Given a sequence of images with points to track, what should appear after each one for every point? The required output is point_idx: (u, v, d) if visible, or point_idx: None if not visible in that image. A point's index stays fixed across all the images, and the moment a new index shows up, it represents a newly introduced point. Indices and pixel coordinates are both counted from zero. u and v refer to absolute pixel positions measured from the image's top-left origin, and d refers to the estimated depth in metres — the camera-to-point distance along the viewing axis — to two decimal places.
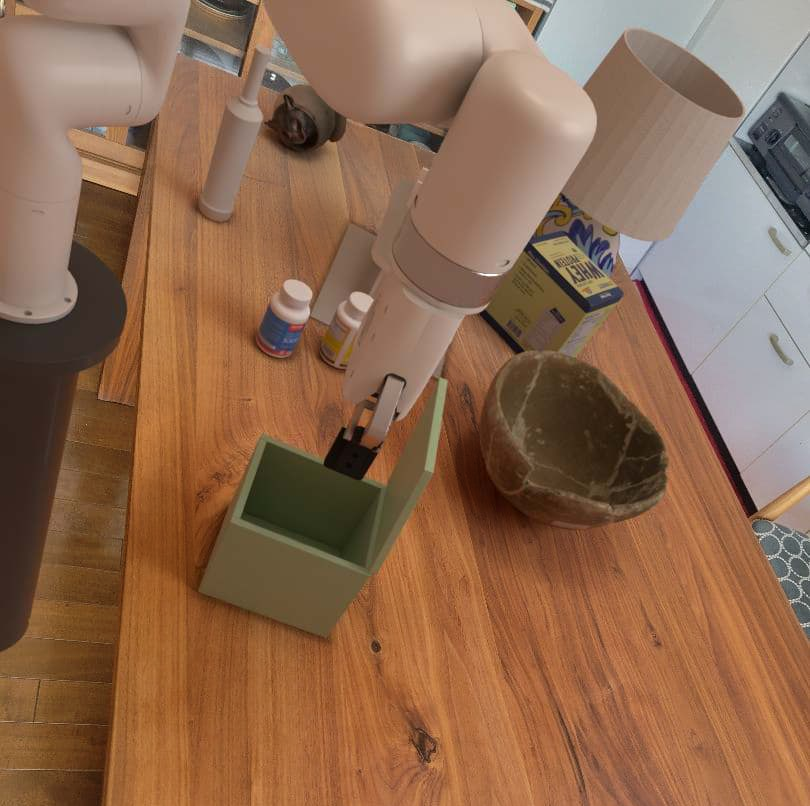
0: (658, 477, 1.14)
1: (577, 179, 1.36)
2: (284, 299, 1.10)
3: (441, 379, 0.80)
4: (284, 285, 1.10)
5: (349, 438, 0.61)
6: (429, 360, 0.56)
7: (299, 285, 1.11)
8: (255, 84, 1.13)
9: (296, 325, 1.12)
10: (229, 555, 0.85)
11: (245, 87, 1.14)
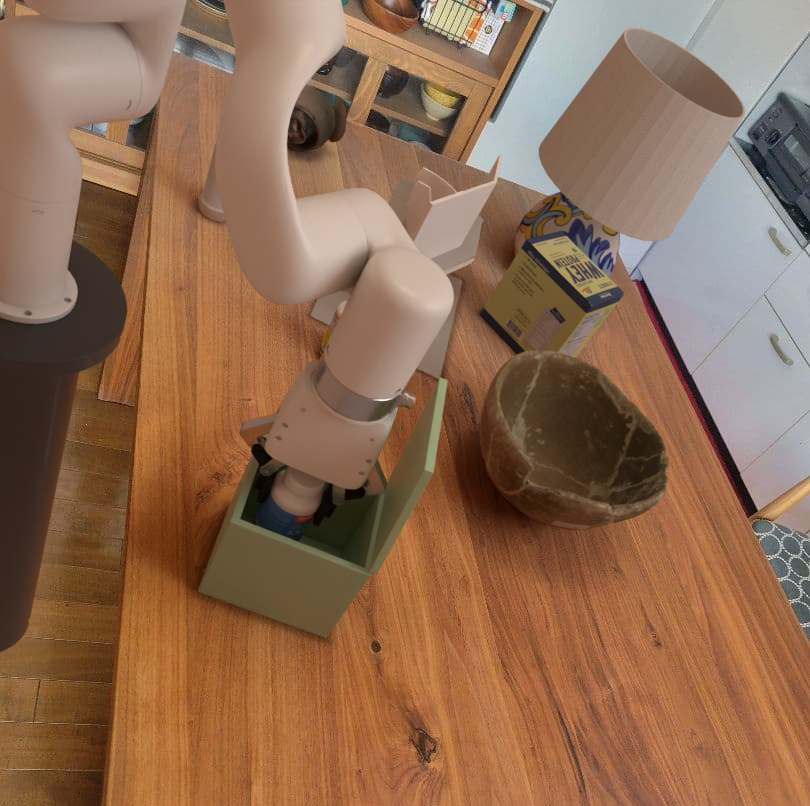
0: (658, 477, 1.14)
1: (577, 179, 1.36)
2: (289, 487, 0.83)
3: (441, 379, 0.80)
4: (289, 469, 0.83)
5: None
6: (286, 405, 0.76)
7: None
8: None
9: (305, 516, 0.85)
10: (229, 555, 0.85)
11: None
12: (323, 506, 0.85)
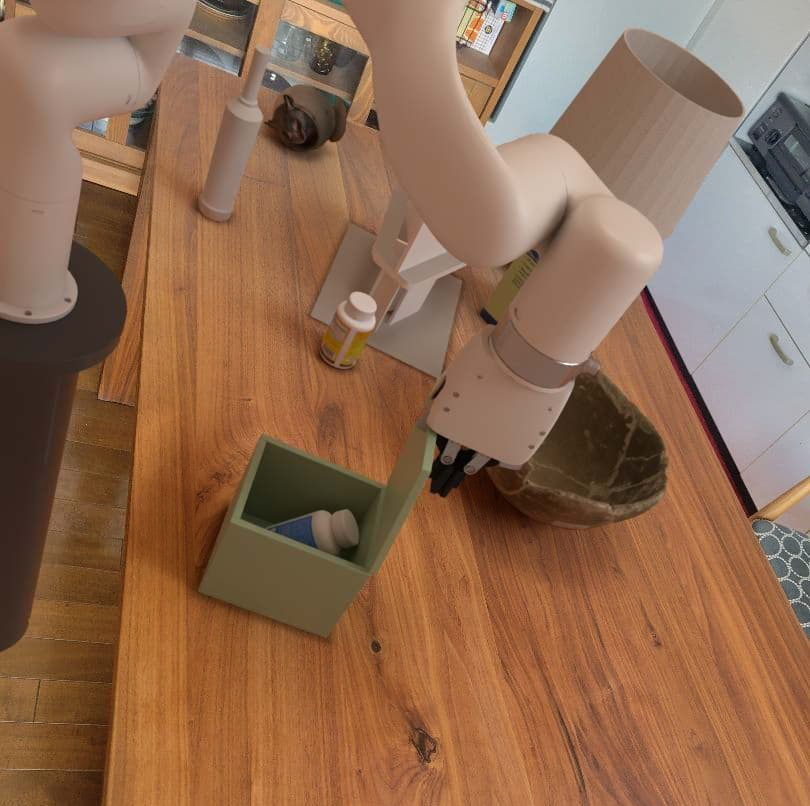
0: (658, 477, 1.14)
1: None
2: (336, 532, 0.89)
3: None
4: (343, 517, 0.90)
5: None
6: (458, 373, 0.70)
7: (352, 519, 0.92)
8: (255, 84, 1.13)
9: None
10: (229, 555, 0.85)
11: (245, 87, 1.14)
12: (453, 475, 0.79)
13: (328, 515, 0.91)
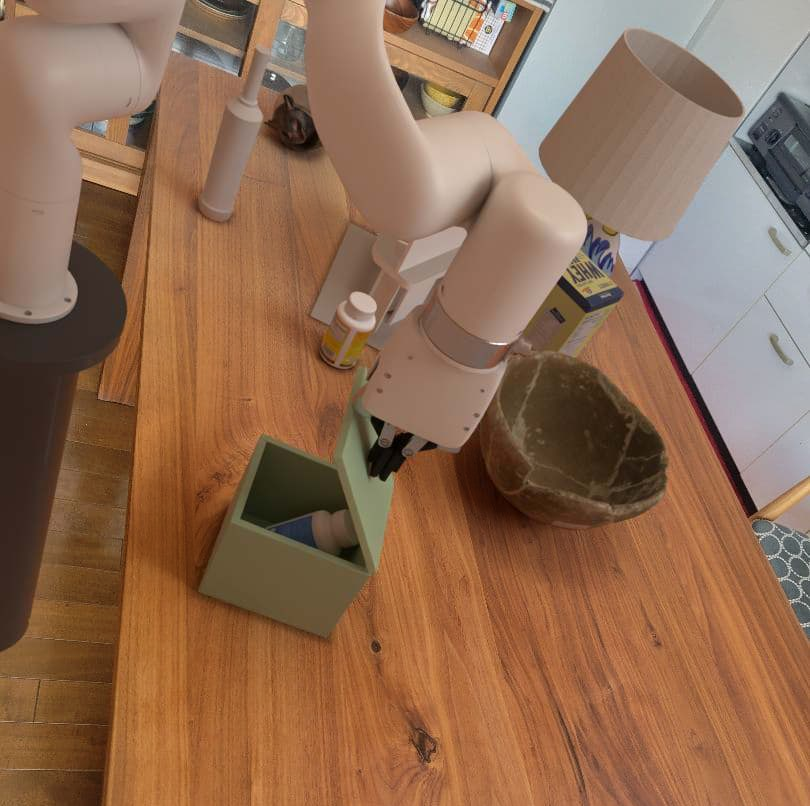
0: (658, 477, 1.14)
1: (577, 179, 1.36)
2: (336, 532, 0.89)
3: (359, 367, 0.81)
4: (343, 517, 0.90)
5: None
6: (389, 354, 0.70)
7: None
8: (255, 84, 1.13)
9: None
10: (229, 555, 0.85)
11: (245, 87, 1.14)
12: (392, 458, 0.79)
13: (328, 515, 0.91)
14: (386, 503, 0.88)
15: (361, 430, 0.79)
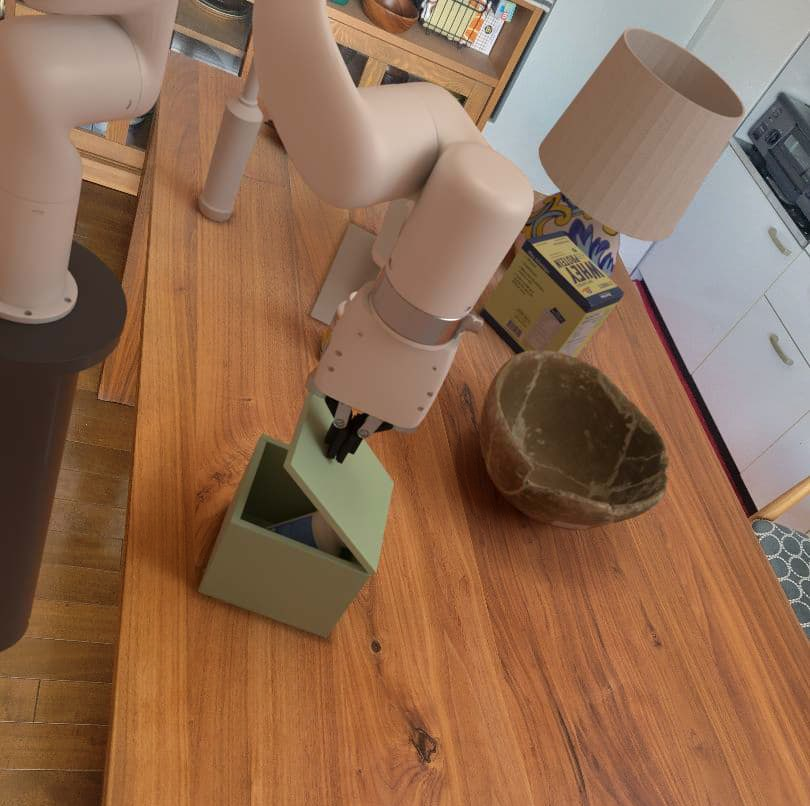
0: (658, 477, 1.14)
1: (577, 179, 1.36)
2: None
3: None
4: None
5: None
6: (340, 331, 0.69)
7: None
8: (255, 84, 1.13)
9: None
10: (229, 555, 0.85)
11: (245, 87, 1.14)
12: (347, 439, 0.78)
13: None
14: (381, 503, 0.88)
15: (321, 436, 0.80)
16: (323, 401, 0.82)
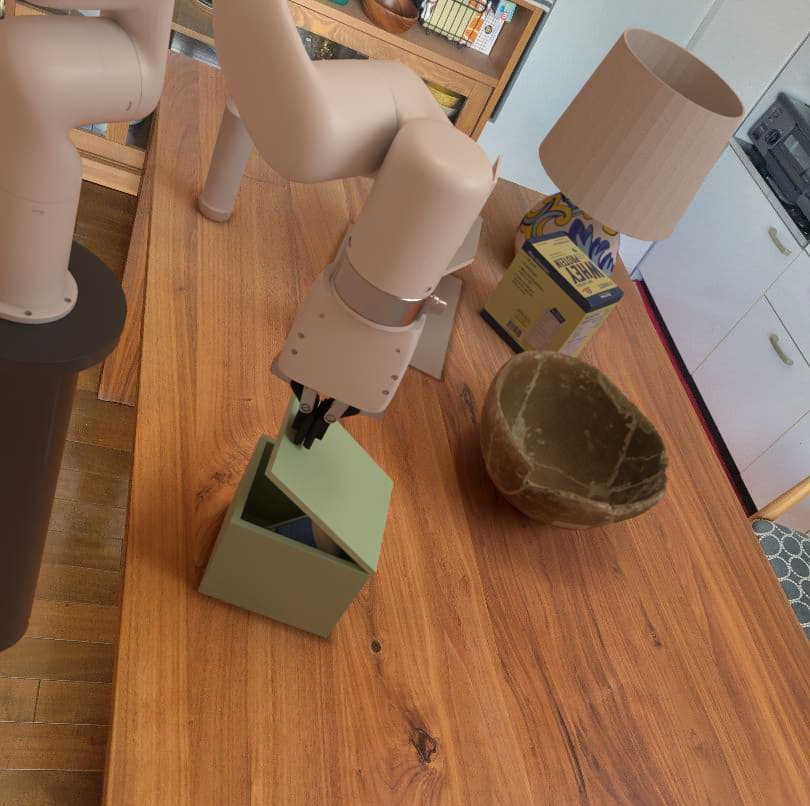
0: (658, 477, 1.14)
1: (577, 179, 1.36)
2: None
3: None
4: None
5: None
6: (302, 313, 0.68)
7: None
8: None
9: None
10: (229, 555, 0.85)
11: None
12: (314, 425, 0.77)
13: None
14: (380, 503, 0.88)
15: None
16: None
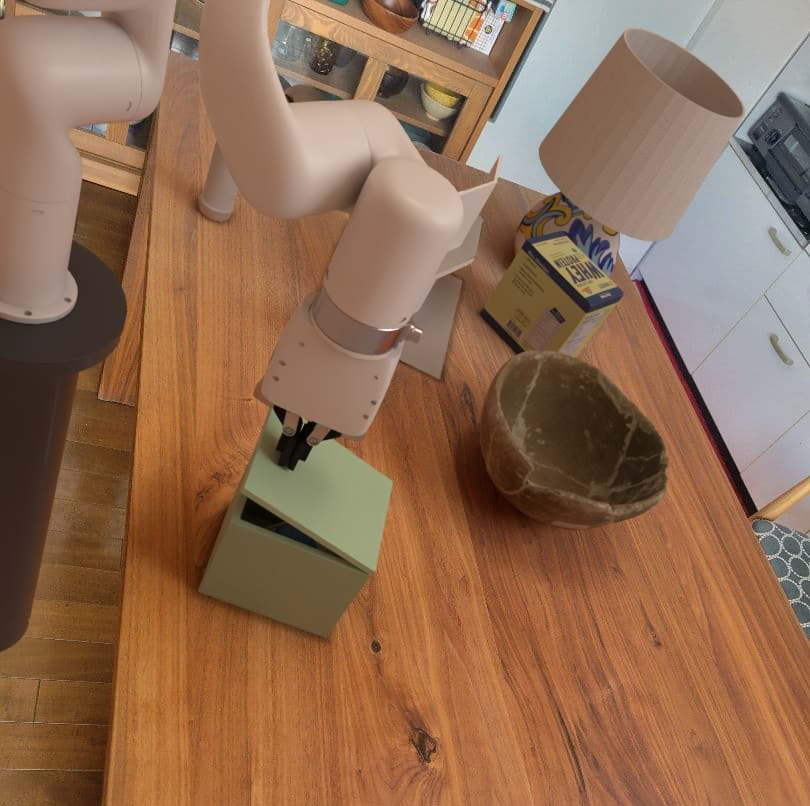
0: (658, 477, 1.14)
1: (577, 179, 1.36)
2: None
3: None
4: None
5: None
6: (283, 341, 0.70)
7: None
8: None
9: None
10: (229, 555, 0.85)
11: None
12: (297, 447, 0.79)
13: None
14: (376, 504, 0.88)
15: None
16: None
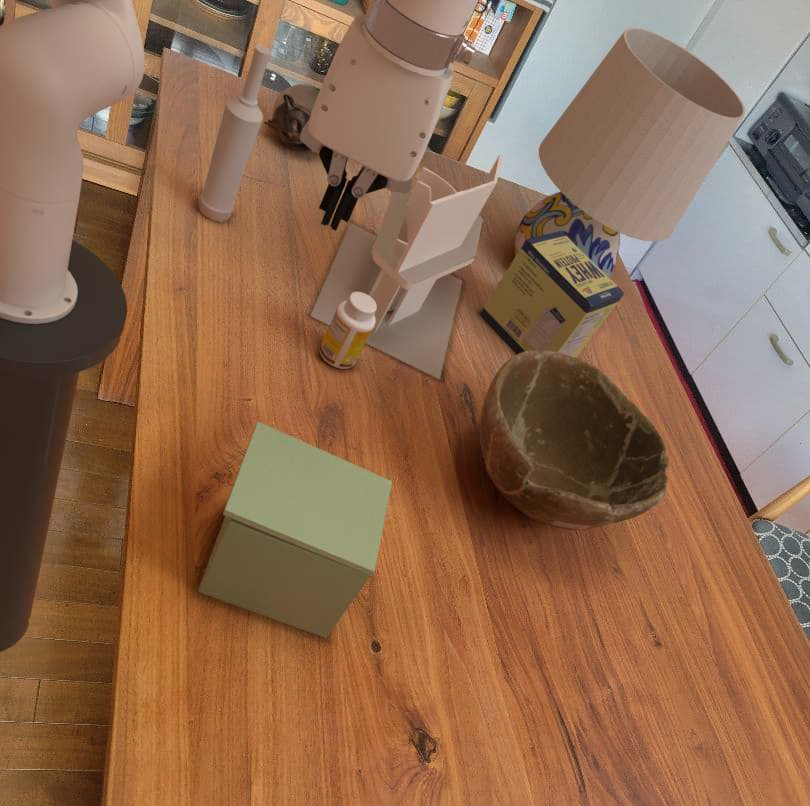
0: (658, 477, 1.14)
1: (577, 179, 1.36)
2: None
3: (255, 426, 0.88)
4: None
5: None
6: (333, 63, 0.70)
7: None
8: (255, 84, 1.13)
9: None
10: (229, 555, 0.85)
11: (245, 87, 1.14)
12: (342, 200, 0.78)
13: None
14: (374, 505, 0.88)
15: (268, 472, 0.84)
16: (267, 442, 0.87)
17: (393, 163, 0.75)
